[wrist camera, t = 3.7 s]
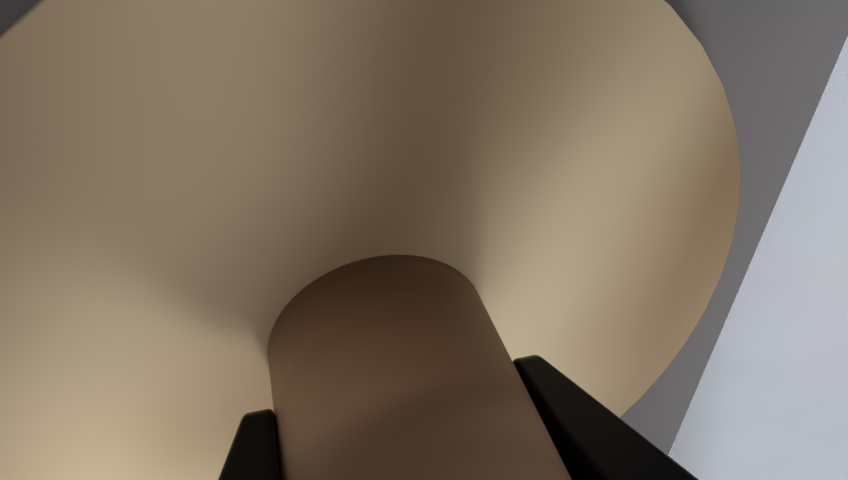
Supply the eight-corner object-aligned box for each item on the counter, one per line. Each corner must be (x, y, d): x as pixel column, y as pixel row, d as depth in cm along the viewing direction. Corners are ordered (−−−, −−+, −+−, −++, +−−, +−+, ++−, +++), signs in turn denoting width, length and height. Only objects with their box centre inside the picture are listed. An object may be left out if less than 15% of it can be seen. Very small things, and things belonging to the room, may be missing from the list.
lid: (829, -128, 8) (1510, 6, 4) (625, 447, 16) (780, 704, 12) (-373, -96, 6) (-2460, 462, 1) (83, 581, 14) (23, 984, 9)
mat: (909, -267, 9) (977, -268, 8) (643, 437, 18) (662, 467, 18) (-653, -317, 5) (-804, -331, 4) (40, 585, 15) (31, 630, 14)
